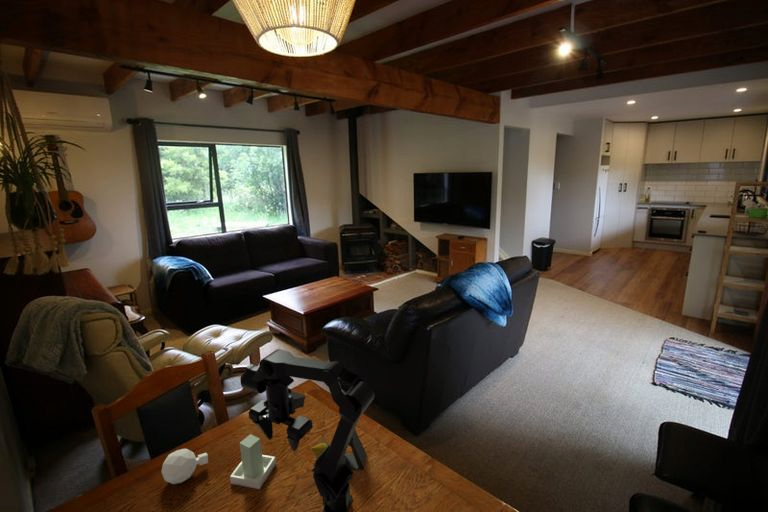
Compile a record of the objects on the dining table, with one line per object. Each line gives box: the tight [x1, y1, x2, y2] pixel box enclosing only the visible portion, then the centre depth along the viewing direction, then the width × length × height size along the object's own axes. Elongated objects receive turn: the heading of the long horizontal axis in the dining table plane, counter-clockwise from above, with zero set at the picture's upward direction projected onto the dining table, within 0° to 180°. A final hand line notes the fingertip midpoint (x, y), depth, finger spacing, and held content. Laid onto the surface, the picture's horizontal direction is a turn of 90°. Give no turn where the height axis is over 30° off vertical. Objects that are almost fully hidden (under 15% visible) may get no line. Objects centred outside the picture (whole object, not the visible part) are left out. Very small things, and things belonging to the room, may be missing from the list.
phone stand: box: [345, 429, 367, 471], centre depth 111 cm, size 9×6×12 cm, turn 88°
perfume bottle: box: [161, 448, 209, 485], centre depth 108 cm, size 9×9×12 cm
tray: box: [229, 454, 277, 490], centre depth 109 cm, size 9×9×3 cm
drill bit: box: [309, 441, 331, 460], centre depth 113 cm, size 5×5×10 cm
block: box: [239, 433, 264, 479], centre depth 108 cm, size 4×4×11 cm
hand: (282, 444), depth 103 cm, fingers open, 9 cm apart
